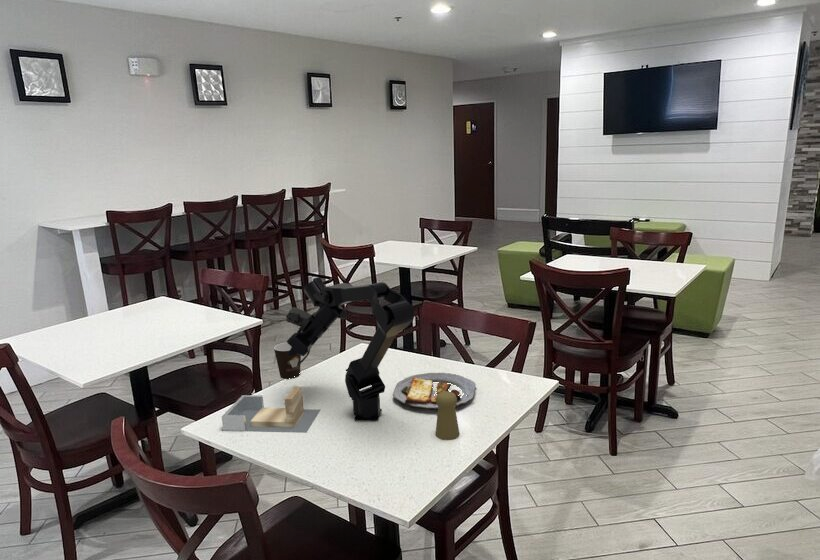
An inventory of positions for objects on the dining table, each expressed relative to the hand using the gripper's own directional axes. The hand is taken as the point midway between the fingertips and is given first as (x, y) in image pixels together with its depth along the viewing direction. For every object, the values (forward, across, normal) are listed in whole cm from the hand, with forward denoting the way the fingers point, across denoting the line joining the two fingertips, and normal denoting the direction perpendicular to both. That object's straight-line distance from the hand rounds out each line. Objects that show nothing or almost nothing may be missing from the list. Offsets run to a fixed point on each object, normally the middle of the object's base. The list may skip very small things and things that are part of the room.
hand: (289, 355), depth 160 cm
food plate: (-19, -4, +39) cm, 44 cm away
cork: (-23, +19, +43) cm, 52 cm away
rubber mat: (+10, +14, +9) cm, 20 cm away
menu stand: (+9, +14, +10) cm, 19 cm away
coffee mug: (+14, -18, +6) cm, 23 cm away
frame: (+15, +14, +3) cm, 21 cm away
